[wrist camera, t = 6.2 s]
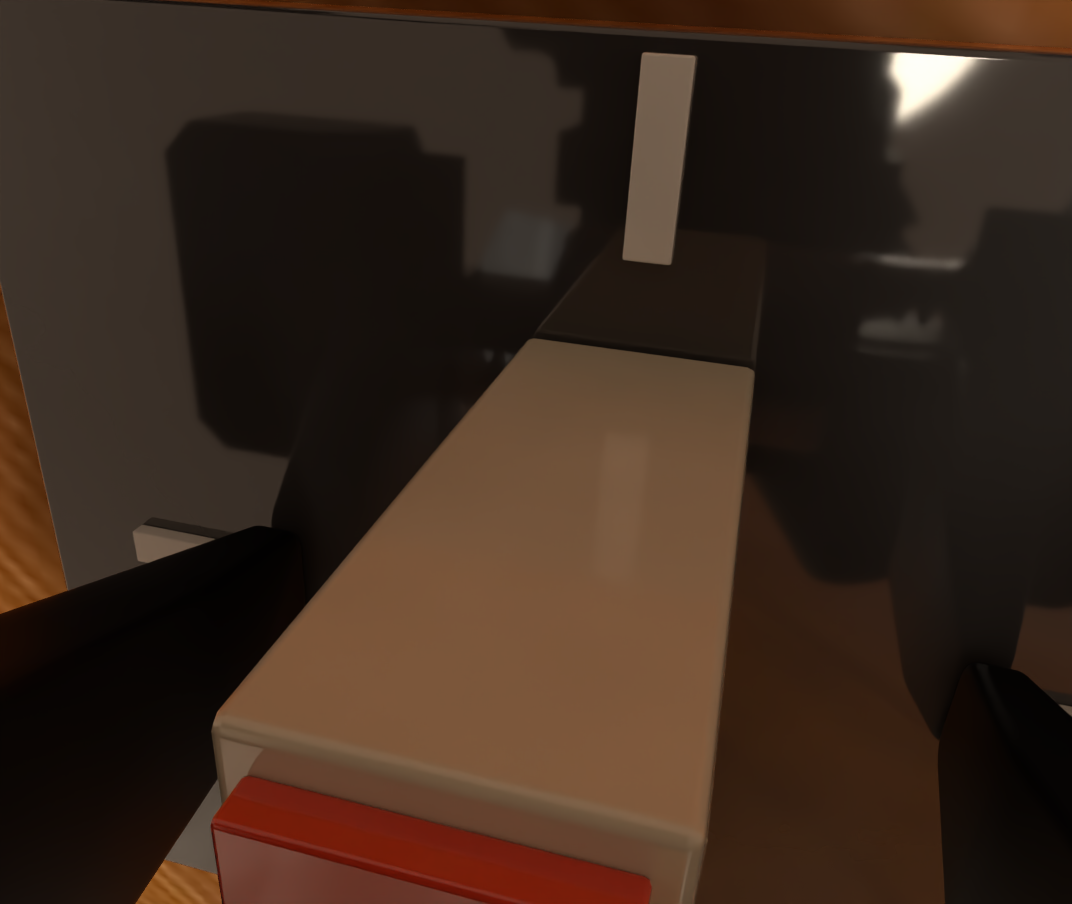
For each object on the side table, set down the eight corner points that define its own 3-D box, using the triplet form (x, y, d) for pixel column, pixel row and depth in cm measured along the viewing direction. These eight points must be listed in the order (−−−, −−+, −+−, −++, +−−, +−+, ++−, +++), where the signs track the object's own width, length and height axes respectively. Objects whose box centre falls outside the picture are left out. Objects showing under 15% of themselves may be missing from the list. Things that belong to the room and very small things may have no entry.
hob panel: (245, 698, 14) (114, 860, 11) (159, -6, 10) (-88, -16, 7) (1062, 889, 12) (1144, 1154, 9) (1441, 69, 7) (1828, 99, 5)
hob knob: (670, 866, 9) (569, 1557, 5) (502, 824, 10) (282, 1436, 5) (757, 364, 7) (700, 907, 3) (527, 333, 7) (156, 767, 3)
